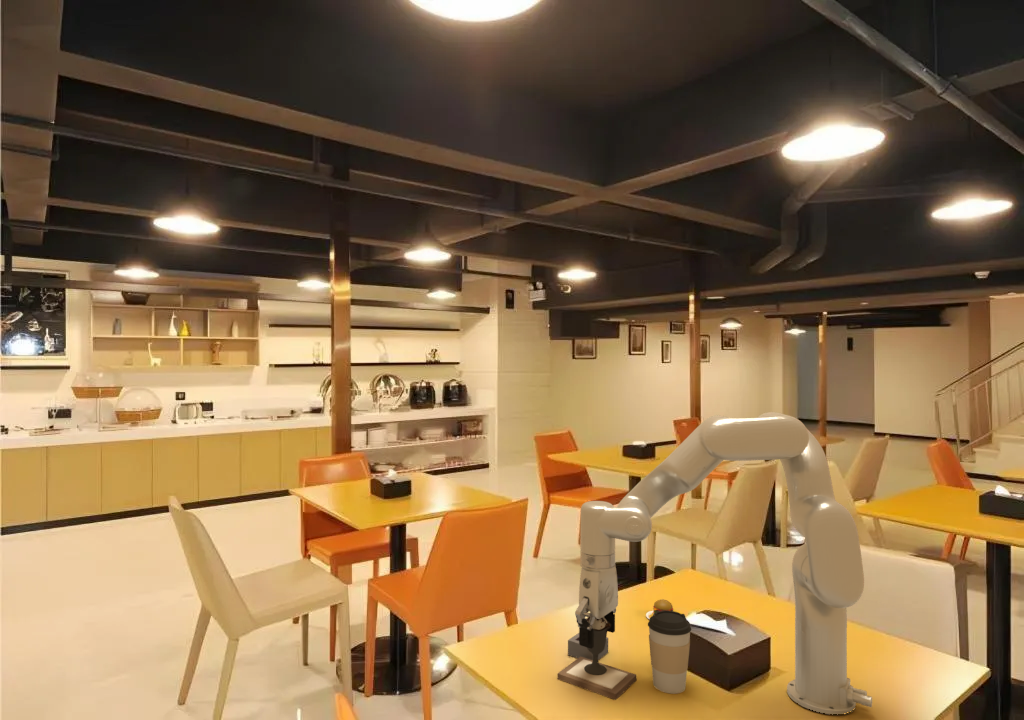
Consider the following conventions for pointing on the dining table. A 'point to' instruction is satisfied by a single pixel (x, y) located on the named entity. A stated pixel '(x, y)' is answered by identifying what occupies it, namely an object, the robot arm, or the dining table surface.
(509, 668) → the dining table surface
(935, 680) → the dining table surface
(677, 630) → the coffee cup
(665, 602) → the hamburger
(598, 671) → the sundae
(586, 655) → the button base
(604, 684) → the drawing board
